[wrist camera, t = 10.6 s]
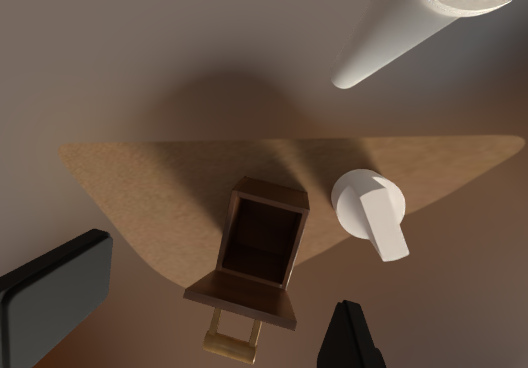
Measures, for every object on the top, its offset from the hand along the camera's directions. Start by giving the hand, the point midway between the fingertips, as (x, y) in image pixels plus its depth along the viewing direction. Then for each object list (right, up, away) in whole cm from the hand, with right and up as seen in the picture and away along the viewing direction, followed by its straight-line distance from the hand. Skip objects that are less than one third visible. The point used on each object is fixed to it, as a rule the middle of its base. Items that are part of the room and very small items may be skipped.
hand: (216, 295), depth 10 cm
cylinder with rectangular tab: (+17, +3, +31) cm, 35 cm away
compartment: (+2, -1, +34) cm, 34 cm away
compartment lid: (0, -8, +20) cm, 21 cm away
